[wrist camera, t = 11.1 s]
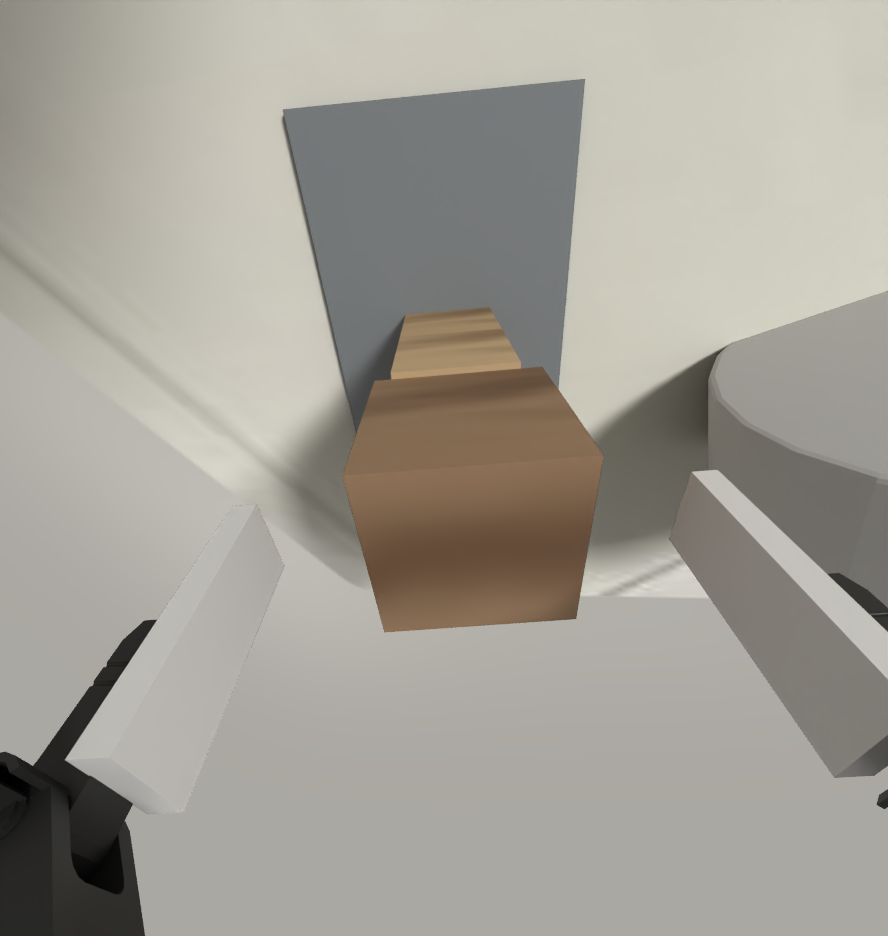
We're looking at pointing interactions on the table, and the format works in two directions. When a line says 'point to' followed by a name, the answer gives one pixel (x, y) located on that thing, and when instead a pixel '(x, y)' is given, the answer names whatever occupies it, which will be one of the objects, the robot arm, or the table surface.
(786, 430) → the alarm clock
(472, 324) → the oak block lower
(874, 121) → the table surface
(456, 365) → the oak block upper
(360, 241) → the slate mat
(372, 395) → the walnut cube
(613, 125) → the table surface
